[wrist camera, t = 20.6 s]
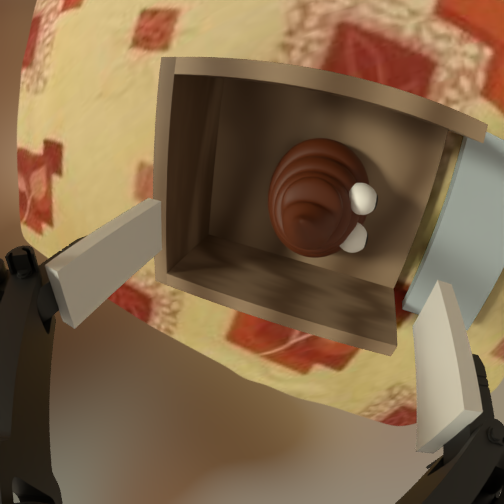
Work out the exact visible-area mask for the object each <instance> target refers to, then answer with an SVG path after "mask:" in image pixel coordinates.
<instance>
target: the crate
mask: <svg viewBox="0 0 504 504" xmlns="http://www.w3.org/2000/svg"><path fill="white" fill-rule="evenodd" d="M487 126H488V124H485V123H483V122H481V121H479V120H477V119H475V118H473V117H470V116H468V115H466V114H464V113H461V112H459V111H457V110H454V109H452V108H449V107H447V106H444V105H442V104H439V103H437V102H434V101H431V100H429V99H426V98H423V97H420V96H418V95H415V94H412V93H409V92H406V91H403V90H399V89H396V88H393V87H390V86H386V85H383V84H379V83H376V82H372V81H368V80H364V79H361V78H356V77H352V76H348V75H344V74H339V73H335V72H330V71H325V70H320V69H314V68H309V67H303V66H296V65H290V64H283V63H275V62H267V61H257V60H247V59H233V58H215V57H161V65H160V74H159V84H158V95H157V108H156V122H155V141H154V169H153V199H154V200H158V201H161V234H162V250H161V251H160V252H159V253H158V254H156V255H155V256H154V261H155V280H156V281H158V282H160V283H163V284H165V285H168V286H171V287H173V288H176V289H179V290H181V291H184V292H187V293H190V294H192V295H195V296H198V297H200V298H203V299H206V300H209V301H212V302H214V303H217V304H220V305H223V306H226V307H229V308H232V309H235V310H238V311H240V312H243V313H246V314H249V315H252V316H255V317H258V318H261V319H265V320H268V321H271V322H274V323H277V324H280V325H283V326H286V327H290V328H293V329H296V330H299V331H303V332H306V333H309V334H312V335H316V336H319V337H323V338H326V339H329V340H333V341H336V342H340V343H343V344H347V345H350V346H354V347H358V348H361V349H365V350H369V351H372V352H376V353H380V354H384V355H388V356H391V355H392V354H393V352H394V351H395V349H396V347H397V329H396V313H395V300H394V286H395V284H396V282H397V280H398V277H399V275H400V273H401V271H402V268H403V266H404V263H405V261H406V259H407V256H408V254H409V251H410V249H411V246H412V244H413V241H414V239H415V236H416V233H417V231H418V228H419V225H420V222H421V220H422V217H423V214H424V211H425V208H426V205H427V202H428V199H429V196H430V193H431V190H432V187H433V184H434V180H435V177H436V174H437V170H438V167H439V163H440V160H441V156H442V152H443V149H444V145H445V141H446V137H447V133H448V131H451V132H454V133H457V134H460V135H462V136H465V137H468V138H470V139H473V140H476V141H478V142H481V143H484V139H485V135H486V131H487ZM313 138H327V139H332V140H335V141H338V142H340V143H342V144H344V145H346V146H347V147H348V148H350V149H351V150H352V151H353V152H354V153H355V154H356V155H357V156H358V158H359V159H360V160H361V162H362V164H363V166H364V168H365V170H366V173H367V176H368V180H369V185H370V186H371V187H372V188H373V189H374V190H375V192H376V194H377V195H378V202H377V206H376V209H375V210H373V211H372V212H370V213H369V214H367V216H366V219H365V222H364V224H363V227H364V228H365V229H366V231H367V233H368V241H367V244H366V246H365V248H363V249H362V250H360V251H358V252H355V253H350V252H346V251H344V250H343V249H341V250H340V251H338V252H336V253H334V254H332V255H329V256H325V257H319V258H311V257H305V256H302V255H299V254H297V253H295V252H293V251H291V250H290V249H289V248H287V247H286V246H285V245H284V244H283V243H282V242H281V240H280V239H279V238H278V236H277V235H276V233H275V231H274V229H273V226H272V224H271V220H270V216H269V210H268V192H269V185H270V181H271V178H272V175H273V172H274V170H275V168H276V166H277V164H278V163H279V161H280V160H281V158H282V157H283V156H284V155H285V154H286V153H287V152H288V151H289V150H290V149H291V148H292V147H294V146H295V145H297V144H299V143H300V142H303V141H305V140H309V139H313Z"/></svg>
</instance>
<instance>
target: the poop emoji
mask: <svg viewBox="0 0 504 504" xmlns="http://www.w3.org/2000/svg"><path fill="white" fill-rule="evenodd" d="M377 202H378V195H377V194H376V192H375V190H374V189H373V188H372V187H371V186H370V185H369V180H368V176H367V173H366V170H365V168H364V166H363V164H362V162H361V160H360V159H359V158H358V156H357V155H356V154H355V153H354V152H353V151H352V150H351V149H350V148H348V147H347V146H346V145H344V144H342V143H340V142H338V141H335V140H332V139H327V138H313V139H309V140H305V141H303V142H300V143H299V144H297V145H295V146H294V147H292V148H291V149H290V150H289V151H288V152H287V153H286V154H285V155H284V156H283V157H282V158H281V160H280V161H279V163H278V164H277V166H276V168H275V170H274V172H273V175H272V178H271V181H270V185H269V192H268V210H269V216H270V220H271V224H272V226H273V229H274V231H275V233H276V235H277V236H278V238H279V239H280V240H281V242H282V243H283V244H284V245H285V246H286V247H287V248H289V249H290V250H291V251H293V252H295V253H297V254H299V255H302V256H305V257H311V258H319V257H325V256H329V255H332V254H334V253H336V252H338V251H340V250H341V249H343V250H344V251H346V252H350V253H355V252H358V251H360V250H362V249H363V248H365V246H366V244H367V241H368V233H367V231H366V229H365V228H364V227H363V224H364V222H365V219H366V216H367V214H369V213H370V212H372V211H373V210H375V209H376V206H377Z"/></svg>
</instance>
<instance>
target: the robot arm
mask: <svg viewBox="0 0 504 504" xmlns="http://www.w3.org/2000/svg"><path fill="white" fill-rule="evenodd" d="M161 250H162V234H161V201H158V200H154V199H150V198H148V199H146V200H144V201H143V202H141V203H139V204H138V205H136V206H134V207H132V208H131V209H129V210H127V211H126V212H124V213H122V214H121V215H119V216H118V217H116V218H114V219H113V220H111V221H110V222H108V223H106V224H105V225H103V226H102V227H100V228H98V229H97V230H95V231H94V232H92V233H91V234H89V235H87V236H85V237H82V238H79V239H77V240H75V241H74V242H72V243H71V244H69V246H66V247H65V248H63V249H62V251H59V252H58V253H56V254H55V255H53V256H52V257H50V258H49V259H48V260H46V261H45V262H43V263H42V264H41V265H39V266H38V264H37V260H36V256H35V252H34V250H33V248H32V247H30V246H20V247H17V248H14V249H12V250H11V251H10V252H8V253H7V255H6V256H5V258H6V261H7V264H8V267H9V270H7V269H6V267H5V264H4V261H3V260H2V259H0V504H62V498H61V492H60V488H59V485H58V483H57V481H56V479H55V477H54V475H53V473H52V467H51V454H50V437H49V436H50V433H49V394H50V374H51V360H52V349H53V339H54V331H55V323H56V319H55V316H54V314H55V313H56V312H57V311H58V310H59V312H60V315H61V317H62V320H63V321H64V322H65V323H67V324H68V325H70V326H72V327H73V328H76V327H77V326H78V325H79V324H80V323H81V322H82V321H83V320H84V319H86V318H87V317H88V316H89V315H90V314H91V313H92V312H93V311H94V310H95V309H96V308H97V307H98V306H99V305H100V304H102V303H103V302H104V301H105V300H106V299H107V298H108V297H109V296H110V295H111V294H112V293H114V292H115V291H116V290H117V289H118V288H119V287H120V286H121V285H122V284H124V283H125V282H126V281H127V280H128V279H129V278H130V277H131V276H132V275H134V274H135V273H136V272H137V271H138V270H139V269H140V268H142V267H143V266H144V265H145V264H146V263H147V262H148V261H150V260H151V259H152V258H153V257H154V256H155V255H156V254H158V253H159V252H160V251H161ZM413 337H414V348H415V363H416V385H417V436H416V452H425V453H435V452H436V451H437V450H439V449H440V448H441V447H443V446H444V453H443V455H442V456H441V457H440V458H438V459H437V460H435V461H434V462H432V463H431V464H430V465H428V466H427V467H426V468H427V469H428V468H430V467H431V468H430V469H429V470H428V471H427V472H426V473H425V474H424V475H423V476H422V477H421V479H419V481H418V482H417V483H416V484H415V485H414V486H413V487H412V488H411V489H410V490H409V491H408V492H407V493H406V494H405V495H404V496H403V497H402V498H401V499H400V500H398V501H397V502H396V503H395V504H504V426H503V424H502V423H501V422H500V421H498V420H497V419H494V413H493V407H492V401H491V395H490V390H489V388H488V386H489V385H488V380H487V379H486V377H487V376H486V371H485V367H484V365H483V363H482V361H481V359H480V358H479V356H478V355H475V354H472V352H471V348H470V344H469V340H468V336H467V333H466V329H465V325H464V322H463V318H462V315H461V312H460V308H459V305H458V302H457V299H456V296H455V293H454V290H453V287H452V284H449V283H446V282H443V281H440V280H437V282H436V284H435V286H434V288H433V290H432V292H431V294H430V296H429V297H428V299H427V301H426V303H425V305H424V307H423V309H422V310H421V312H420V314H419V316H418V317H417V319H416V321H415V323H414V324H413ZM501 490H502V491H501ZM13 492H14V493H15V494H16V495H17V496H18V498H19V500H20V503H14V502H13ZM500 492H501V493H500ZM499 495H500V496H499Z"/></svg>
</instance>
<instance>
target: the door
mask: <svg viewBox="0 0 504 504" xmlns="http://www.w3.org/2000/svg"><path fill="white" fill-rule="evenodd" d="M503 268H504V140H502V139H500V138H498V137H496V136H494V135H492V134H490V133H488V132H486V135H485V139H484V143H481V142H478V141H476V140H473V139H470V138H468V137H465V136H463V140H462V144H461V148H460V152H459V156H458V159H457V163H456V166H455V170H454V173H453V177H452V180H451V183H450V186H449V189H448V192H447V195H446V198H445V201H444V204H443V207H442V210H441V213H440V215H439V218H438V221H437V224H436V226H435V229H434V231H433V234H432V237H431V239H430V242H429V244H428V247H427V249H426V251H425V254H424V256H423V258H422V261H421V263H420V265H419V268H418V270H417V272H416V274H415V277H414V279H413V281H412V283H411V285H410V287H409V289H408V292H407V294H406V296H405V298H404V300H403V302H402V309H403V310H406V311H409V312H412V313H415V314H420V312H421V310H422V309H423V307H424V305H425V303H426V301H427V299H428V297H429V296H430V294H431V292H432V290H433V288H434V286H435V284H436V282H437V280H440V281H443V282H446V283H449V284H452V287H453V290H454V293H455V296H456V299H457V302H458V305H459V308H460V312H461V315H462V318H463V322H464V325H465V329H466V330H468V329H469V327H470V326H471V324H472V323H473V321H474V319H475V318H476V316H477V315H478V313H479V311H480V310H481V308H482V306H483V305H484V303H485V301H486V299H487V298H488V296H489V294H490V292H491V290H492V289H493V287H494V285H495V283H496V281H497V279H498V277H499V275H500V274H501V272H502V270H503Z"/></svg>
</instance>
